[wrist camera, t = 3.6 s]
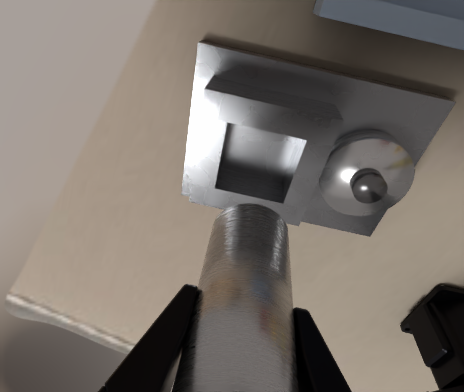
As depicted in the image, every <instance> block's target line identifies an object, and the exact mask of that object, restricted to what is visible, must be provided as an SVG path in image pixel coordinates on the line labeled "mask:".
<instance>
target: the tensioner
mask: <svg viewBox="0 0 464 392" xmlns="http://www.w3.org/2000/svg"><path fill="white" fill-rule="evenodd" d="M455 103H456V102H454V101H453V100H451V99H450V98H447V97H443V96H438V95H434V94H430V93H426V92H421V91H417V90H413V89H408V88H404V87H400V86H395V85H391V84H387V83H382V82H378V81H374V80H370V79H365V78H361V77H357V76H352V75H348V74H344V73H339V72H335V71H331V70H326V69H322V68H318V67H314V66H309V65H305V64H301V63H296V62H292V61H288V60H283V59H279V58H275V57H270V56H266V55H262V54H258V53H253V52H249V51H245V50H240V49H236V48H232V47H227V46H223V45H219V44H214V43H210V42H206V41H200V42H198V49H197V58H196V67H195V76H194V85H193V94H192V103H191V112H190V121H189V130H188V139H187V148H186V157H185V166H184V175H183V184H182V193H181V195H185V196H189V197H190V199H189V202H192V203H197V204H201V205H206V206H210V207H215V208H219V209H224V210H225V209H227V208H229V207H231V206H234V205H237V204H244V203H252V204H259V205H263V206H265V207H268V208H270V209H272V210H274V211H275V212H276V213H278V214H279V215H280V216H281V217H282V218H283V220H284V221H285V223H287V224H292V225H296V226H299V224H300V222H301V221H302V222H306V223H311V224H315V225H320V226H324V227H329V228H333V229H338V230H342V231H347V232H351V233H356V234H360V235H365V236H369V237H370V236H371V234H372V233H373V231H374V230H375V228H376V226H377V225H378V223H379V222H380V220H381V219H382V217H383V215H384V214H385V212H386V211H387V209H388V208H390V207H392V206H393V205H395V204H396V203H397V202H399V201H400V200H401V199H402V198H403V197H404V196H405V195H406V193H407V192H408V191H409V189H410V187H411V185H412V183H413V179H414V173H415V170H414V167H415V165H416V164H417V162H418V161H419V159H420V157H421V156H422V154H423V153H424V151H425V150H426V148H427V147H428V145H429V143H430V142H431V140H432V139H433V137H434V136H435V134H436V132H437V131H438V129H439V128H440V126H441V125H442V123H443V121H444V120H445V118H446V117H447V115H448V114H449V112H450V111H451V109H452V107H453V106H454V104H455Z"/></svg>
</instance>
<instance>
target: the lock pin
mask: <svg viewBox="0 0 464 392" xmlns="http://www.w3.org/2000/svg"><path fill="white" fill-rule="evenodd" d="M172 392H299V390H298V375H297V360H296V344H295V329H294V314H293V299H292V284H291V268H290V253H289V238H288V228H287V225H286V223H285V221H284V220H283V218H282V217H281V216H280V215H279V214H278V213H276V212H275V211H274V210H272V209H270V208H268V207H265V206H263V205H259V204H252V203H244V204H237V205H234V206H231V207H229V208H227V209H225V210H224V211H222V212H221V213H220V214H219V215H218V216H217V218H216V219H215V221H214V224H213V228H212V232H211V236H210V240H209V244H208V248H207V252H206V256H205V260H204V264H203V268H202V272H201V276H200V280H199V284H198V291H197V295H196V299H195V303H194V307H193V311H192V315H191V319H190V323H189V327H188V331H187V335H186V338H185V341H184V345H183V349H182V353H181V357H180V361H179V365H178V369H177V373H176V377H175V381H174V385H173V389H172Z"/></svg>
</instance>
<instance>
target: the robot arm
mask: <svg viewBox="0 0 464 392" xmlns="http://www.w3.org/2000/svg"><path fill="white" fill-rule="evenodd" d="M197 291H198V287H197V286H194V285H189V284H185V285H184V286H183V287H182V288H181V289H180V291H179V292H178V293H177V294H176V296H175V297H174V298H173V299H172V301H171V302H170V303H169V304H168V306H167V307H166V308H165V309H164V311H163V312H162V313H161V314H160V315H159V317H158V318H157V319H156V320H155V322H154V323H153V324H152V325H151V327H150V328H149V329H148V330H147V332H146V333H145V334H144V335H143V337H142V338H141V339H140V340H139V342H138V343H137V344H136V345H135V346H134V348H133V349H132V350H131V351H130V353H129V354H128V355H127V356H126V358H125V359H124V360H123V361H122V363H121V364H120V365H119V366H118V368H117V369H116V370H115V371H114V372H113V374H112V375H111V376H110V377H109V379H108V380H107V381H106V382H105V386H102V387H101V389H100V390H99V391H98V392H170V391H171V388H172V385H173V382H174V380H175V377H176V373H177V369H178V365H179V361H180V357H181V353H182V349H183V345H184V341H185V338H186V335H187V331H188V327H189V323H190V319H191V315H192V311H193V307H194V303H195V299H196V295H197ZM293 314H294V329H295V344H296V360H297V375H298V390H299V392H352V391H351V390H350V388H349V386H348V384H347V382H346V380H345V378H344V376H343V375H342V373H341V371H340V369H339V367H338V365H337V363H336V361H335V360H334V358H333V356H332V354H331V352H330V350H329V348H328V347H327V345H326V343H325V341H324V339H323V337H322V335H321V333H320V332H319V330H318V328H317V326H316V324H315V322H314V320H313V318H312V317H311V315H310V313H309V311H307V310H306V309H301V308H297V307H296V308H294V309H293ZM400 327H401V330H402V331H403V332H405V333H410V334H413V336H414V338H415V341H416V343H417V346H418V348H419V351H420V353H421V356H422V358H423V361H424V363H425V365H426V366H427V367H430V369H431V371H432V373H433V376H434V378H435V381H436V383H437V385H438V388H439V390H437V391H433V392H464V290H461V289H456V288H452V287H447V286H438V287H436V288H435V289H434V290H433V291H432V292H431V293H430V294H429V295H428V296H427V297H426V298H425V299H424V300H423V302H422V303H421V304H420V305H419V306H418V307H417V308H416V309H415V310H414V311H413V312H412V313H411V314H410V315H409V316H408V317H407V318H406V319H405V320H404V322H403V323H402V324H401V325H400ZM427 392H428V391H427Z"/></svg>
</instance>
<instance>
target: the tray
mask: <svg viewBox="0 0 464 392" xmlns="http://www.w3.org/2000/svg"><path fill="white" fill-rule="evenodd" d="M313 13H314V14H316V15H318V16H320V17H325V18H329V19H333V20H337V21H342V22H346V23H350V24H354V25H359V26H363V27H367V28H371V29H376V30H380V31H384V32H388V33H393V34H397V35H401V36H405V37H410V38H414V39H418V40H422V41H427V42H431V43H435V44H439V45H444V46H448V47H452V48H456V49H461V50H464V0H316V3H315V6H314V9H313Z"/></svg>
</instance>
